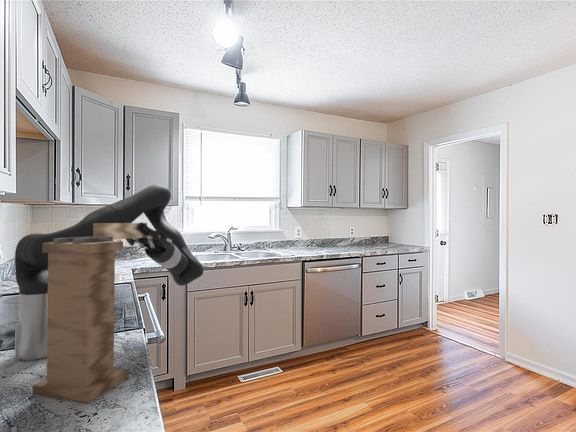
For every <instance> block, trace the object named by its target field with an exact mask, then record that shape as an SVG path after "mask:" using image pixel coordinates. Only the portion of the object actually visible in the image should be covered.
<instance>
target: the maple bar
mask: <svg viewBox="0 0 576 432" xmlns="http://www.w3.org/2000/svg"><path fill="white" fill-rule="evenodd" d="M139 223H140V222H132V223H93V238H96V237H113V241H117V240H126V239H130V238H145V237H147V235H144V234H142V233H141V232H140V231H139V230H138V225H139ZM143 223H144V224H145V225H147V226H148V223H147V222H143Z"/></svg>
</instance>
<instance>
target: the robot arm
mask: <svg viewBox="0 0 576 432" xmlns="http://www.w3.org/2000/svg"><path fill="white" fill-rule="evenodd" d="M171 194H172V193H171V192H170V190H169V188H167V187H166V186H164V185H163V184H162V185H161V184H152V185H149V186H146V187H145V188H144V189H142V190H140V191H138V192H137V193H134V194H133V195H131V196H128V197H125V198H123V199H120V200H118V201H115V202H113V203H111V204H108V205H105V206H103V207H101V208H100V207H99V208H98V209H96V210H94V211H91V212H90V213H88V214H87V215H86V216H84V217H83V218H82V219H81V220H79V222H77V223H76V224H73V225H71V226H69V227H67V228H64V229H61V230H58V231H54V232H50V233H49V232H48V233H30V234H27V235H25V236H23V237H21V239H20V240H19V241H18V242H17V245H16V248H15V251H14V252H15V253H14V263H15V264H14V265H15V280H16V284H17V286H18V321H17V322H16V323H15V324H14V325H15V326H14V360H23V361H33V360H39V359H44V358H47V311H48V253H46V252H42V243H51V242H53V239H55V238H74V237H93V223H134V221H135V220H136V219H138V218H139V217H140V216H142V214H144V216H145V217H146V219H147V220H148V221H149V222H150V224H151V226H152V227H153V228H152V227H149V226H148V224H147V225H145V224H144V223H145V222H143V221H142V222H138V223H139V225H138V230H139V231H140V232H141V233H142V234H144V235H147V237H145V238H130V239H125V240H126V241H127V243H128V245H130V246H131V247H132V246H133V247H134V245H135V244H136V245H139V247H141V248H143V249H144V251H145V255H146V256H147V257H148V258H149V259H151V260H152V261H154V262H155V263H156V264H158V265H159V266H161V267H163V269H166V270H167V271H168V272H169V273H170V275H171V276H172V278H173V281H174V283H175V284H177V286H180V287H181V286H183V287H184V286H186V285H188V284H190V283H192V282H193V281H195V280H197V279H199V278H200V277H201V276H203V274H204V267H203V264H202V263H201V262H200V261H199V260H198V259H197V258H196V257H195V256H194V255H193V253H192V252H191V251H190V250H189V248H188V245H187V243H186V241H185V240H184V239H185V238H184V237H183V235H182V234H181V233H180V231H179V230H178V229H176V228H175V227H174V226H173V225H171V224H170V223H169V222H168V220H167V218H166V215H165V212H164V210H165V209H166V208H167V207H168V204H169V202H170V201H171Z"/></svg>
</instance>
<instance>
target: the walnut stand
mask: <svg viewBox="0 0 576 432" xmlns="http://www.w3.org/2000/svg"><path fill="white" fill-rule="evenodd" d="M123 250H124V241H123V240H120V241H119V240H113V237H96V238H93V237H74V238H55V239H53V242H51V243H42V252H46V253H48V311H47V357H46V379H43V380H40V381H39V382H37V383H34V384H32V396H36V397H44V398H50V399H56V400H57V399H58V400H64V401H71V402H77V403H83V404H89V403H91V402H92V401H93V400H95V399H97V398H98V397H100V396H101V395H103V394H104V393H106V392H107V391H109V390H111V389H113V388H114V387H115V386H118V385H119V384H121V383H122V382H123V381H125V380H126V379H127V378H129V377H130V375H129V374H130V373H129V372H130V371H129V370H130V369H129V368H128V367H122V366H121V367H118V366H115V282H116V281H115V280H116V279H115V277H116V276H115V274H116V273H115V271H116V270H115V269H116V268H115V267H116V263H115V260H116V254H115V253H116V251H123Z"/></svg>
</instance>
